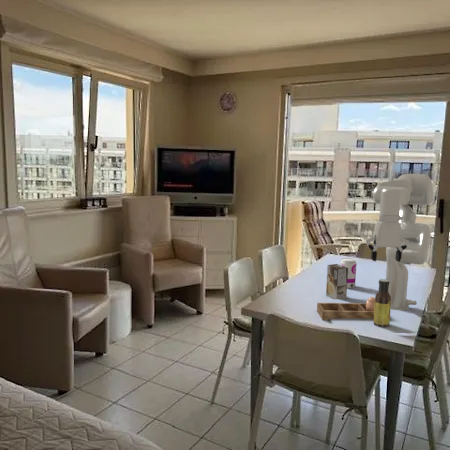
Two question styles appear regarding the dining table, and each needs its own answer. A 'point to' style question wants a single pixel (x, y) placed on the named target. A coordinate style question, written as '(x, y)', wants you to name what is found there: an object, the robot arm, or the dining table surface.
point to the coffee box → (336, 281)
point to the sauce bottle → (382, 305)
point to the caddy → (344, 311)
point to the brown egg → (370, 304)
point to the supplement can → (350, 271)
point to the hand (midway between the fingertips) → (385, 260)
